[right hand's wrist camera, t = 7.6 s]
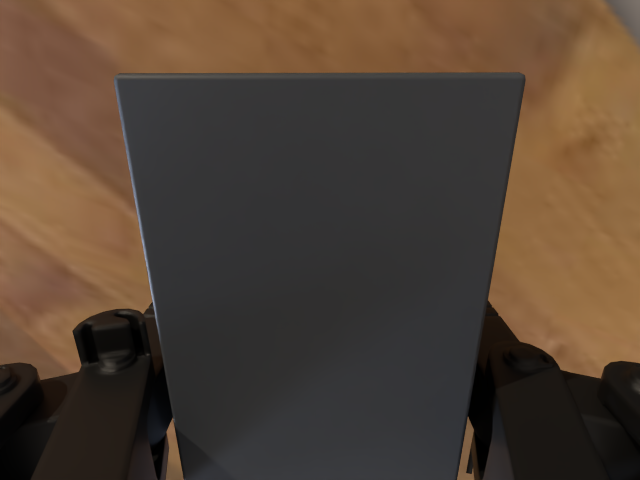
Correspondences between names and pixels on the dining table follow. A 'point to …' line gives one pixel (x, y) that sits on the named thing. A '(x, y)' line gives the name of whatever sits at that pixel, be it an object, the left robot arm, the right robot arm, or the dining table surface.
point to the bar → (319, 262)
